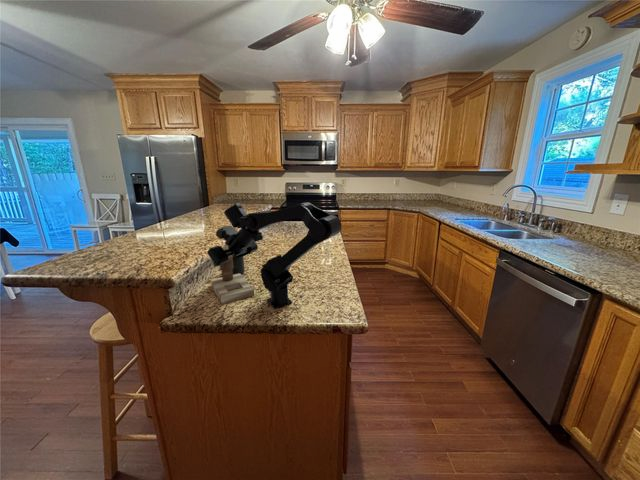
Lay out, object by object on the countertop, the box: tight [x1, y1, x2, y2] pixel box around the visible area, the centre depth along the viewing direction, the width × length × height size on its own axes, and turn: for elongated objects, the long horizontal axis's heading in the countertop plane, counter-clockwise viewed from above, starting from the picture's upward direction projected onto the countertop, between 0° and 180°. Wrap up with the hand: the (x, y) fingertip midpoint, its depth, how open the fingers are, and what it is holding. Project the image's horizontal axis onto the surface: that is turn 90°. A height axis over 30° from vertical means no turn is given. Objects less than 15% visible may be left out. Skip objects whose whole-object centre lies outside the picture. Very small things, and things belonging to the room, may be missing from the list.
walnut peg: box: [219, 246, 234, 281], centre depth 93 cm, size 5×5×12 cm
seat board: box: [210, 273, 255, 305], centre depth 91 cm, size 16×11×2 cm
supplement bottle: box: [232, 255, 246, 275], centre depth 105 cm, size 7×7×12 cm
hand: (224, 261), depth 93 cm, fingers open, 9 cm apart
